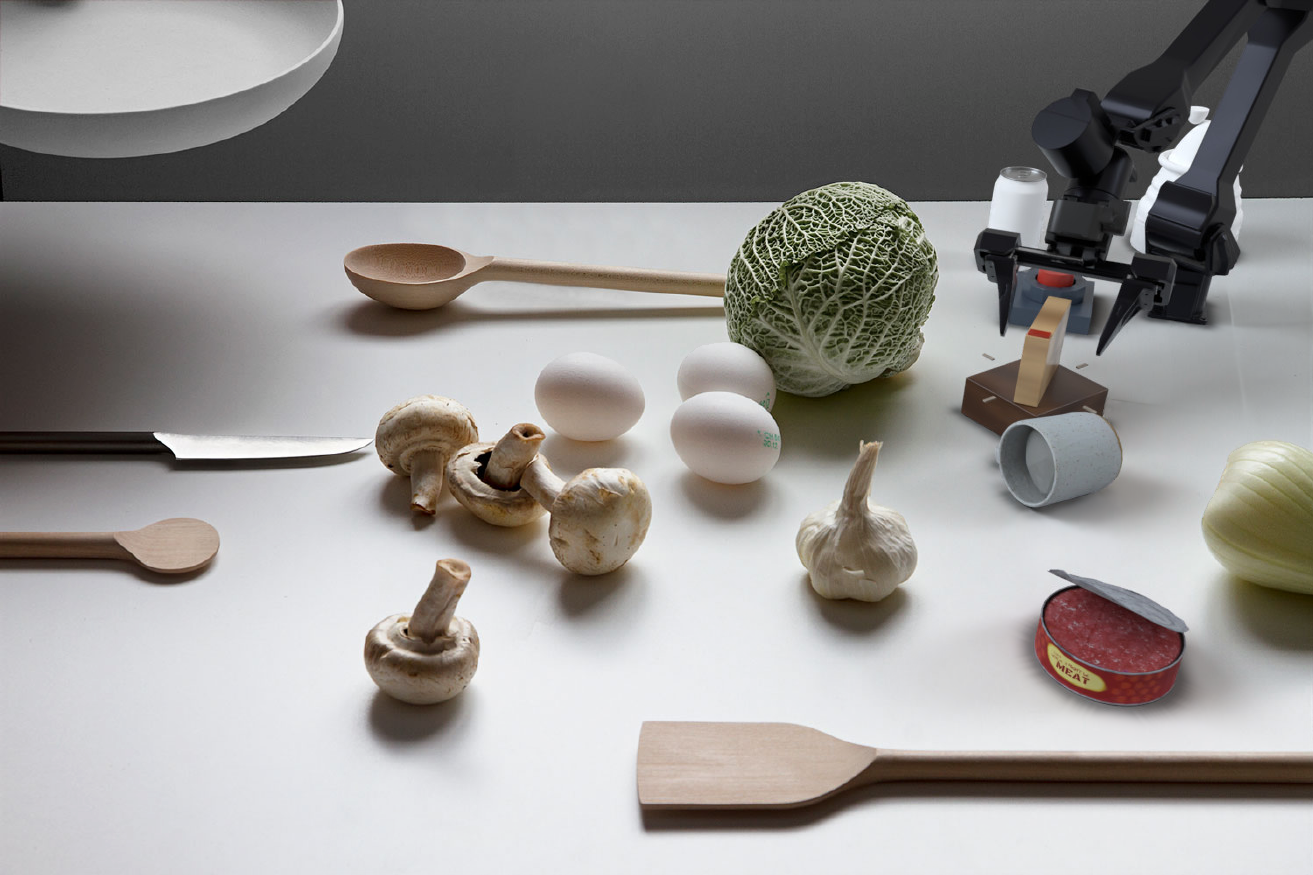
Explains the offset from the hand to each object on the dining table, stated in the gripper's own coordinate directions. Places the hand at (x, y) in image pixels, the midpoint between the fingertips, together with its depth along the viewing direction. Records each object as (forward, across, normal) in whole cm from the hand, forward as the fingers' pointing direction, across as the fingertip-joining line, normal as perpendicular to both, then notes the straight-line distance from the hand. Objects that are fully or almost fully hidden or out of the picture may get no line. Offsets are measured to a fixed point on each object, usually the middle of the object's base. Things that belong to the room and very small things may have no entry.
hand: (1049, 344), depth 111 cm
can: (-20, -12, +30) cm, 38 cm away
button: (-14, -4, +19) cm, 24 cm away
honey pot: (-32, +7, +42) cm, 54 cm away
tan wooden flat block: (+4, 0, 0) cm, 4 cm away
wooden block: (+7, 0, +3) cm, 7 cm away
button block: (-12, -4, +22) cm, 25 cm away
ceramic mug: (+15, +4, -5) cm, 17 cm away
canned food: (+30, +12, -20) cm, 38 cm away
